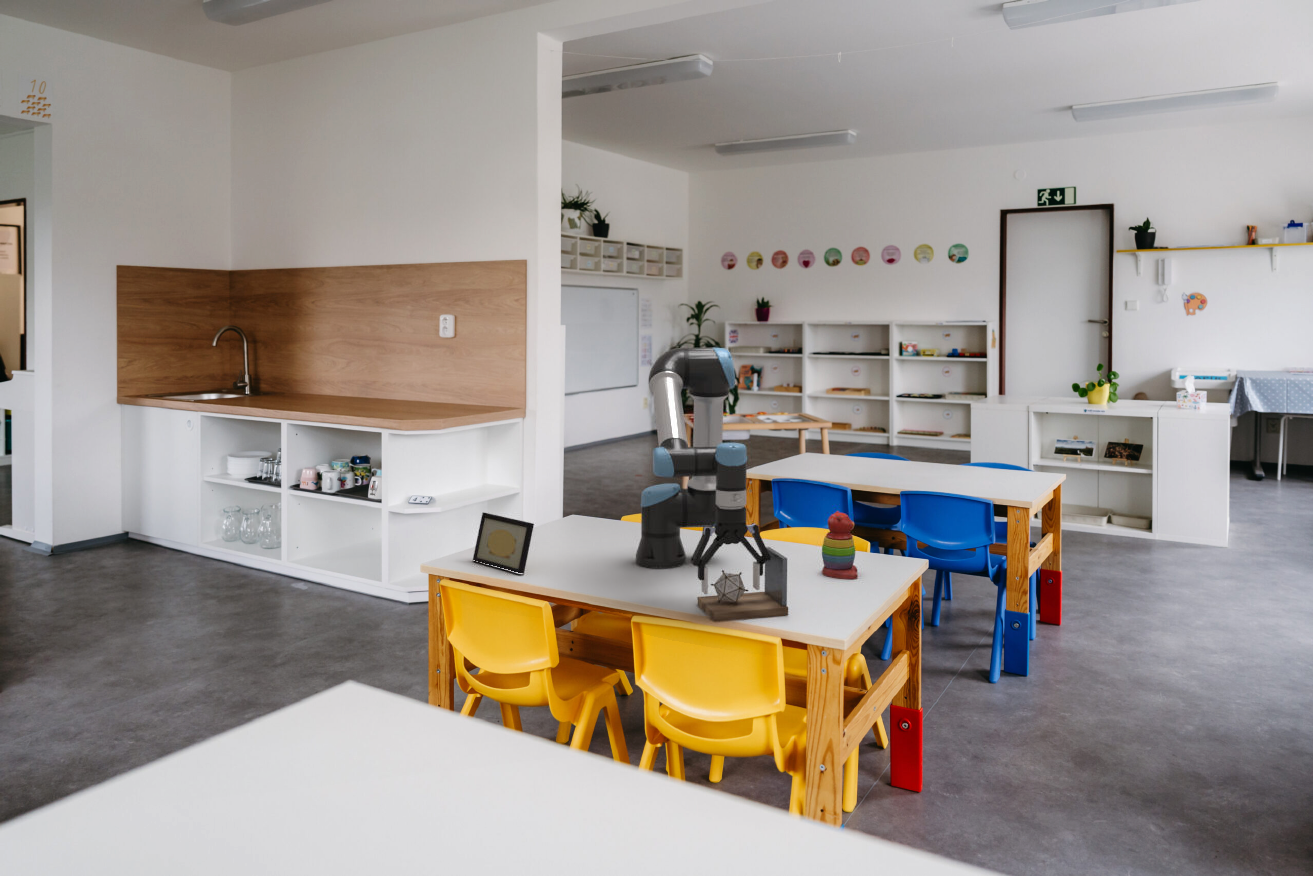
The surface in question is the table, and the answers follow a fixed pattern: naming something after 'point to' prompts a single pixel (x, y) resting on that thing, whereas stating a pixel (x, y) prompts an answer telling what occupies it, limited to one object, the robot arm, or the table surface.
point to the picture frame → (503, 542)
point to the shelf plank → (741, 607)
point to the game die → (729, 587)
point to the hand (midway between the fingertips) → (730, 590)
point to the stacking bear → (839, 548)
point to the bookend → (776, 577)
